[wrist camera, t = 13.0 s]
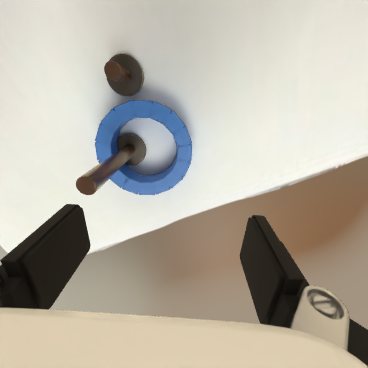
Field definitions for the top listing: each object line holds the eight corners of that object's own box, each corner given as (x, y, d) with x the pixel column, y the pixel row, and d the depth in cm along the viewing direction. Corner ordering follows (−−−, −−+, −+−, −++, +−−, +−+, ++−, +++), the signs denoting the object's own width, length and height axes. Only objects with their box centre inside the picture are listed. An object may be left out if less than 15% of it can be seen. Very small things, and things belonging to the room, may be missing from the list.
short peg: (143, 56, 24) (132, 45, 20) (144, 96, 26) (135, 95, 21) (106, 54, 24) (87, 42, 20) (110, 94, 26) (93, 93, 21)
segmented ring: (191, 102, 26) (194, 102, 23) (188, 186, 31) (189, 195, 28) (97, 99, 25) (88, 98, 23) (109, 185, 31) (102, 194, 28)
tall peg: (145, 134, 28) (110, 161, 15) (146, 164, 30) (115, 211, 17) (114, 132, 28) (52, 158, 15) (117, 163, 30) (64, 208, 17)
